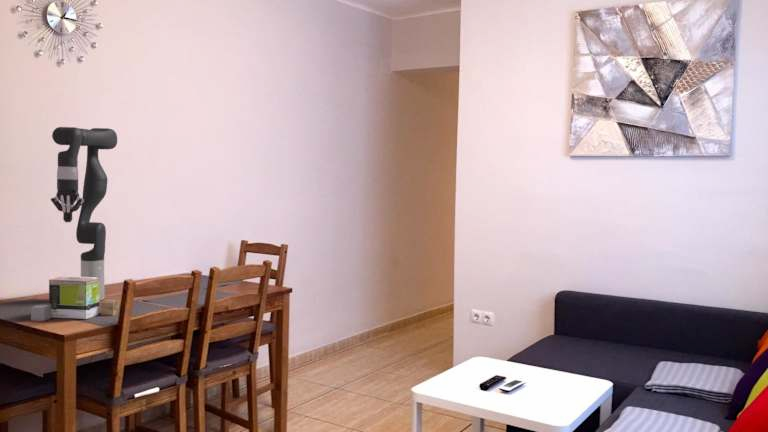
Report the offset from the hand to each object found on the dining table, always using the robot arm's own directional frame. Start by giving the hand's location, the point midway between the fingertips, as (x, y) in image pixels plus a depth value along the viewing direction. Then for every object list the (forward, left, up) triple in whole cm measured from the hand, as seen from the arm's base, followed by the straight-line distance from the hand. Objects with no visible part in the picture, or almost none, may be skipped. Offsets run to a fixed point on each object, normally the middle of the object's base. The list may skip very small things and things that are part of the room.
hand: (67, 222), depth 258 cm
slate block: (+17, -1, -35) cm, 39 cm away
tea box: (+10, +8, -35) cm, 38 cm away
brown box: (+4, +19, -35) cm, 40 cm away
